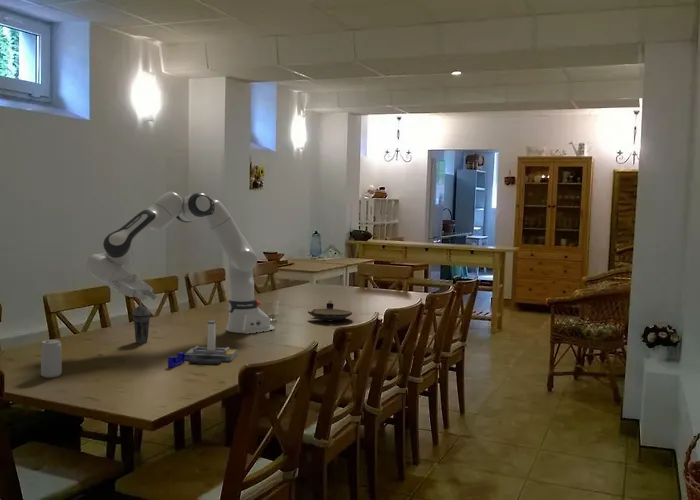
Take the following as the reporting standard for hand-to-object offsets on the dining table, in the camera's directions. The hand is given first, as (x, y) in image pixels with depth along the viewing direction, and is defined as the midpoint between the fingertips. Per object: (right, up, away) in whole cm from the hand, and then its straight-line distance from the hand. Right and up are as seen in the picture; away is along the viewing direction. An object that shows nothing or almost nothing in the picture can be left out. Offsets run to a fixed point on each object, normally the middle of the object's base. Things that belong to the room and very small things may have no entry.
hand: (151, 298), depth 258 cm
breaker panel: (+25, -22, -4) cm, 34 cm away
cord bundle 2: (+24, -23, -14) cm, 36 cm away
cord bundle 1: (+25, -21, +6) cm, 34 cm away
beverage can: (-23, -24, -36) cm, 49 cm away
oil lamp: (+69, -17, +79) cm, 107 cm away
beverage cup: (-9, -20, +17) cm, 27 cm away
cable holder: (+14, -23, -17) cm, 32 cm away
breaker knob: (+25, -20, -4) cm, 32 cm away
